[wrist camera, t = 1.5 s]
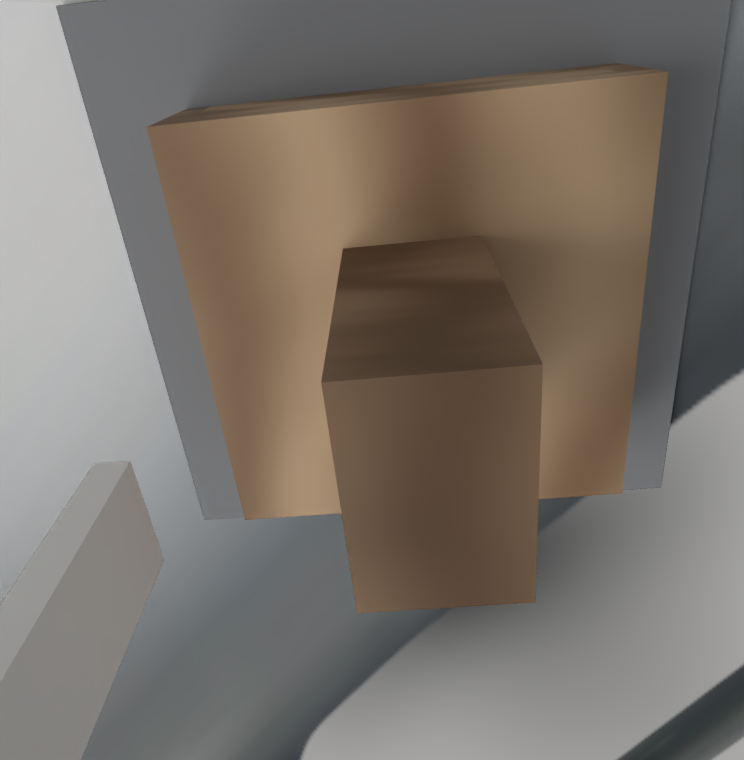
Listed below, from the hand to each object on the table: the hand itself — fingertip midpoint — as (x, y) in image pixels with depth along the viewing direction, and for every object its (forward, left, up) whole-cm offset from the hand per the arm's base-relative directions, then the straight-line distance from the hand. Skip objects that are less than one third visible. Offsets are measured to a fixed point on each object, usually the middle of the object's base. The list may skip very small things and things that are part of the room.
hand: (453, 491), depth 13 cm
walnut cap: (0, 0, -12) cm, 12 cm away
